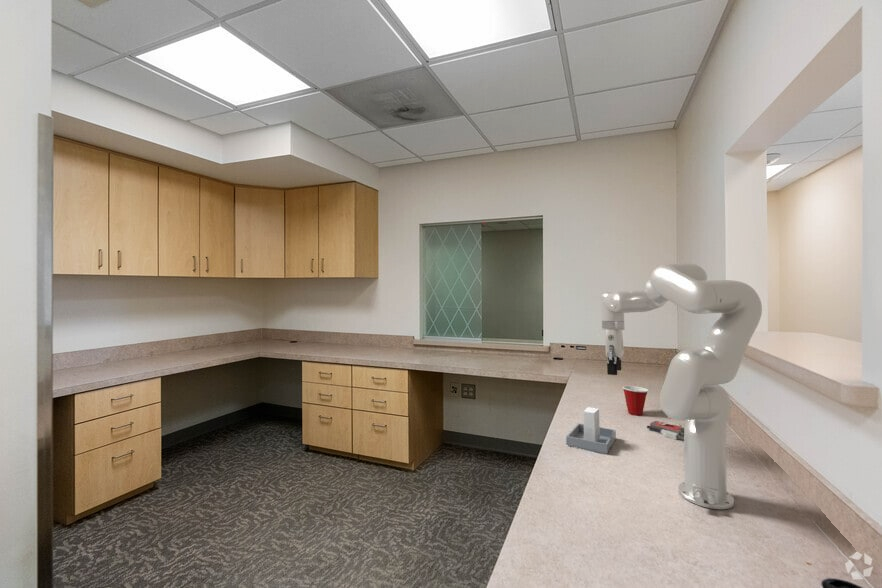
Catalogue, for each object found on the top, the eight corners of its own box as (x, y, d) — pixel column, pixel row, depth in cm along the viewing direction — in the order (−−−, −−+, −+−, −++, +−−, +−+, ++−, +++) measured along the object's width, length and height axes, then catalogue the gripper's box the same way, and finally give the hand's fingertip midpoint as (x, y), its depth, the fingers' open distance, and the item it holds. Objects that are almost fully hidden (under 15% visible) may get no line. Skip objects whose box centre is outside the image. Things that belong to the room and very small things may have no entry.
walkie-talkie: (643, 431, 153) (699, 447, 137) (643, 420, 153) (699, 435, 137) (654, 426, 158) (709, 441, 142) (654, 416, 158) (709, 430, 142)
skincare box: (588, 437, 146) (587, 406, 146) (600, 440, 143) (599, 408, 143) (583, 443, 141) (583, 410, 141) (595, 445, 138) (595, 413, 138)
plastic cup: (654, 415, 170) (654, 388, 170) (637, 419, 166) (636, 391, 166) (634, 408, 180) (634, 383, 180) (617, 411, 177) (616, 386, 176)
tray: (607, 454, 132) (606, 444, 132) (566, 445, 140) (566, 436, 140) (615, 439, 145) (615, 430, 145) (578, 431, 153) (578, 423, 153)
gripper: (620, 327, 130) (622, 377, 130) (627, 324, 145) (628, 369, 145) (597, 327, 135) (599, 375, 134) (606, 324, 149) (607, 367, 149)
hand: (614, 372), depth 140 cm, fingers open, 9 cm apart
